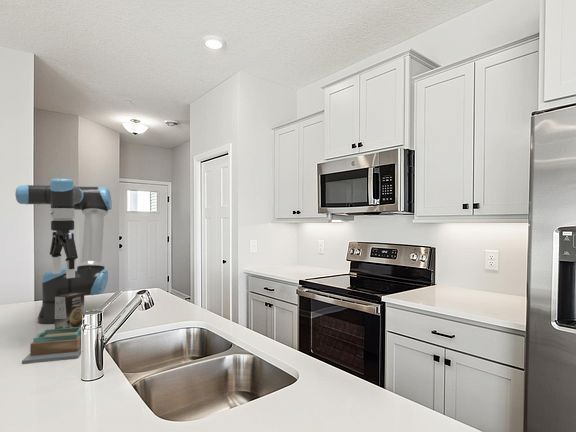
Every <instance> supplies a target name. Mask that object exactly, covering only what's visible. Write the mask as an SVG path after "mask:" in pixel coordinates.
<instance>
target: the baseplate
mask: <svg viewBox="0 0 576 432" xmlns="http://www.w3.org/2000/svg"><path fill="white" fill-rule="evenodd" d="M81 354H82V353H81V347H80V349H79V350H78V351H77V352H67V353H57V354H47V355H36V356H30V353H29V354H27V356H26V357H24V358H23V359H22V361H21V364H22V365H25V364H26V365H27V364H35V363H44V362H57V361H65V360H74V359H78V358H79V357H80V356H81Z"/></svg>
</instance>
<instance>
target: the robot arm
mask: <svg viewBox="0 0 576 432" xmlns="http://www.w3.org/2000/svg"><path fill="white" fill-rule="evenodd" d="M111 196H112V195H111V192H110V190H109V188H108V187H105V186H76V185H75V184H74V180H73V179H71V178H52V179H51V180H50V185H48V184H47V185H46V184H45V185H40V184H38V185H37V184H31V185H30V184H24V185H23V184H22V185H21V184H20V185H18V186H17V187H16V189H15V200H16V202H17V203H19V205H44V206H45V205H49V206H50V211H49V214H50V218H51V219H52V220H51V221H50V230H51V231H52V239H51V245H50V250H49V255H50V256H51V258H52V259H51V260H52V270H49V271H46V272H44V273H43V274H42V279H41V287H42V288H41V291H42V293H41V294H42V295H41V296H42V297H41V298H42V299H41V300H42V304H41V307H40V310H39V313H38V314H37V315H38V316H37V323H38V324H42V325H43V324H44V325H48V324H49V325H50V324H55V297H56V296H60V295H64V294H68V293H84V296H94V295H95V296H97V295H101V294H104V292H105V290H106V288H107V286H108V281H109V280H108V278H109V271H108V269H105V265H104V264H103V263H102V258H103V256H102V255H103V244H104V243H103V242H104V241H103V239H104V225H105V224H104V222H105V216H107V215H108V213H109V211H110V210H112V207H113V203H112V202H113V201H112V197H111ZM75 210H77V211H78V210H79V211H81V214H83V215H84V222H83V234H82V235H83V236H82V248H81V249H82V250H81V258H80V259H81V260H80V261H81V262H80V264H78V265H77V267H76V259H77V260H78V258H79V256H78V251H77V247H76V242H75V235H74V232H70V231H73V230H75V221H74V219H75ZM62 249H63V250H64V253H65V254H64V255H65V256H66V258H65V268H64V267H63V268H62V258H61V257H62V254H61V253H62Z"/></svg>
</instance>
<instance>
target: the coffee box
mask: <svg viewBox="0 0 576 432" xmlns="http://www.w3.org/2000/svg"><path fill="white" fill-rule="evenodd" d="M82 313H84V314H85V295H84V293H68V294H64V295H60V296H56V297H55V323H54V329H60V328H73V327H81V325H82Z"/></svg>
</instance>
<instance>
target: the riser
mask: <svg viewBox="0 0 576 432" xmlns="http://www.w3.org/2000/svg"><path fill="white" fill-rule="evenodd" d="M29 346H30V347H29V348H30V350H29V351H30V353H29V354H30V356H36V355H47V354H57V353H67V352H77V351H78V350H79V349H80V347H81V327H73V328H60V329H55V328H51V329H43V330H42V331H41V332H39V333H38V334H37V335H36V336H34V337H33V339H32V341H31V343H30V345H29Z"/></svg>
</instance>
